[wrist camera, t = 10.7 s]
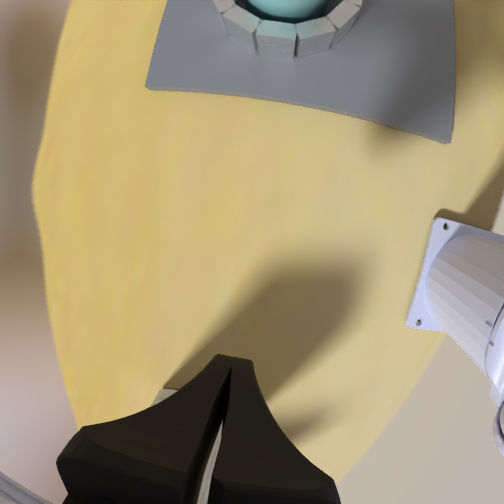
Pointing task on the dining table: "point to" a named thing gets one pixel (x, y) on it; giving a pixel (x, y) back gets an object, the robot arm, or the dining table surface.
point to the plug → (287, 10)
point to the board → (324, 64)
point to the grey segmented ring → (287, 30)
